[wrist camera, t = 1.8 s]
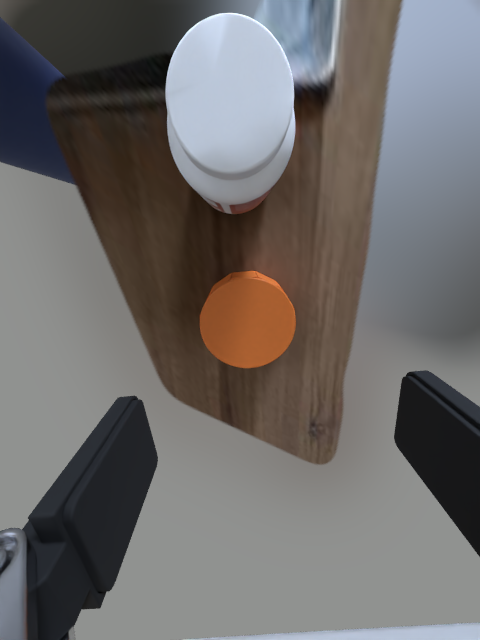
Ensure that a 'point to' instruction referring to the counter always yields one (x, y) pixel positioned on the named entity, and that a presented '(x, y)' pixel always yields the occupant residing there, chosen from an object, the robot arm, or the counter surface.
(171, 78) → the pill bottle
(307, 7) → the counter surface
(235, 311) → the cap
